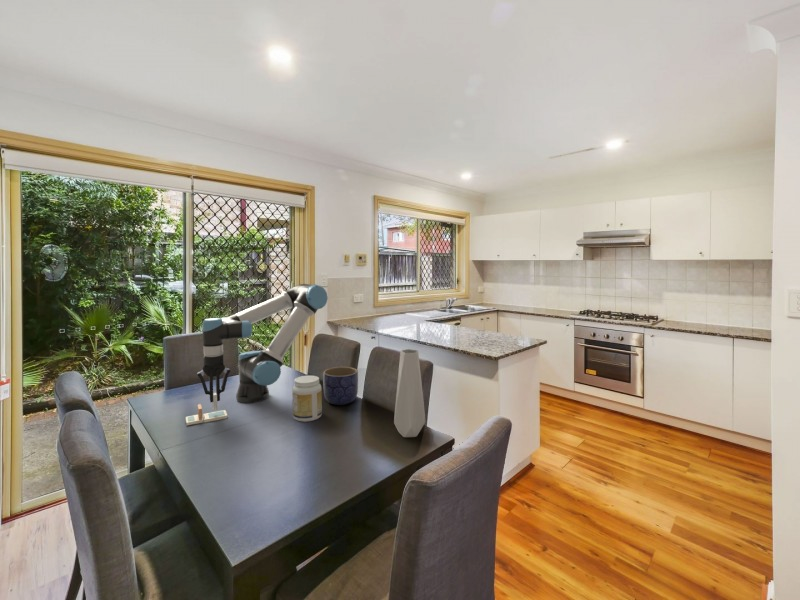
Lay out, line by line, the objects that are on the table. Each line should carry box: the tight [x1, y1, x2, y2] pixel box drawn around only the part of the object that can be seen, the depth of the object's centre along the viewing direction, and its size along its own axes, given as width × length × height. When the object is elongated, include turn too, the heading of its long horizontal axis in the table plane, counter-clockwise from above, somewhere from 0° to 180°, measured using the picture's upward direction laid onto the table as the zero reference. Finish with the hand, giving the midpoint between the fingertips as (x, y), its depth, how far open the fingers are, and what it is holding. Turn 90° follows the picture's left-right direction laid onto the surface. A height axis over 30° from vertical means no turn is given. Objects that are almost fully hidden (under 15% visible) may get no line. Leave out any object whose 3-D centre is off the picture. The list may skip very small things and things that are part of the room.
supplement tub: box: [291, 375, 323, 423], centre depth 162 cm, size 12×12×17 cm
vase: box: [393, 348, 426, 438], centre depth 145 cm, size 12×12×33 cm
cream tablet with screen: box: [202, 409, 228, 423], centre depth 161 cm, size 9×7×1 cm
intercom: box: [185, 403, 204, 426], centre depth 157 cm, size 6×7×6 cm
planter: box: [322, 366, 359, 406], centre depth 180 cm, size 17×17×15 cm
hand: (215, 408), depth 161 cm, fingers closed
